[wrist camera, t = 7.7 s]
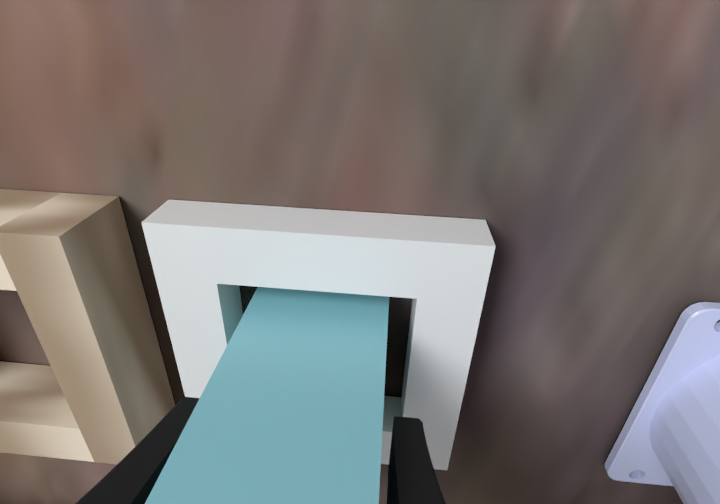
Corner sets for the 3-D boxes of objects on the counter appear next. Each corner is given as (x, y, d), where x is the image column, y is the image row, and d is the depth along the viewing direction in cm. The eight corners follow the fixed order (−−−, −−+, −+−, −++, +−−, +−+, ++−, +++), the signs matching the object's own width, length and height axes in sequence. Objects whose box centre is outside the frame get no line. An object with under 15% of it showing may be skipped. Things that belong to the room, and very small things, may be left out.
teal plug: (389, 286, 13) (374, 593, 6) (382, 379, 15) (364, 689, 8) (262, 277, 13) (114, 561, 7) (272, 369, 15) (165, 662, 9)
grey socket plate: (485, 219, 12) (495, 246, 10) (443, 433, 16) (447, 470, 15) (168, 199, 12) (141, 222, 11) (212, 411, 17) (197, 445, 16)
